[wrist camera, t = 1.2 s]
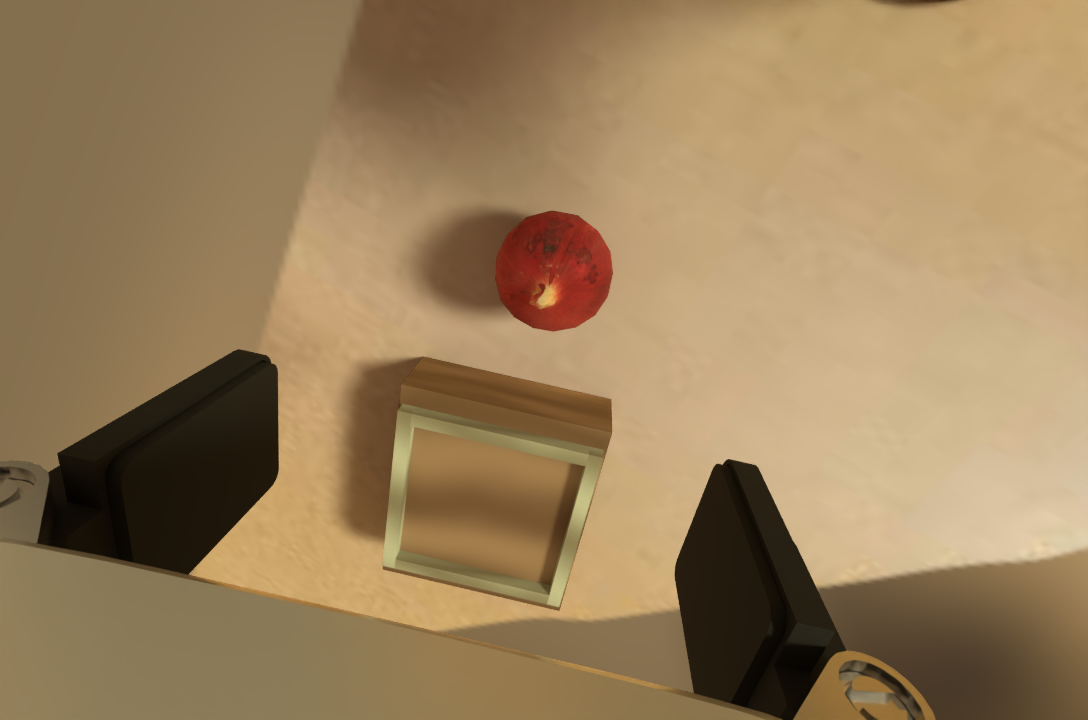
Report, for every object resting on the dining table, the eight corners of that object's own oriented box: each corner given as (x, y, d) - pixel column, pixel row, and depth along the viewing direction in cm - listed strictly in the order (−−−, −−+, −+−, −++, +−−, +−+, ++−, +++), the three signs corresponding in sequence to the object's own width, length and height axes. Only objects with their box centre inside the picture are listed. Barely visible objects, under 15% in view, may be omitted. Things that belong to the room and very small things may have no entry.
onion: (515, 194, 29) (485, 215, 21) (621, 212, 28) (626, 239, 21) (503, 297, 31) (472, 347, 24) (600, 314, 31) (599, 370, 23)
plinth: (423, 356, 33) (395, 390, 29) (611, 399, 33) (612, 440, 28) (403, 528, 39) (377, 578, 34) (563, 565, 38) (558, 621, 34)
